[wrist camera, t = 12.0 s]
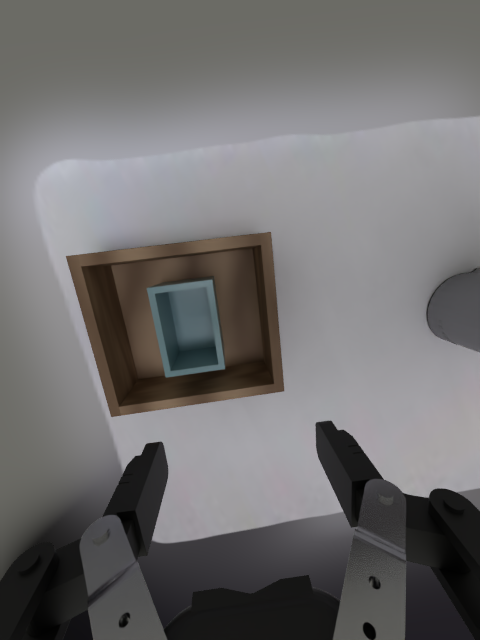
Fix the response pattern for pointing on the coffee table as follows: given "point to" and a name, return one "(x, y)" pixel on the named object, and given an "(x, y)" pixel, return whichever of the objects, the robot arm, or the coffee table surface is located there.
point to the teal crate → (188, 326)
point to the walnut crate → (139, 330)
